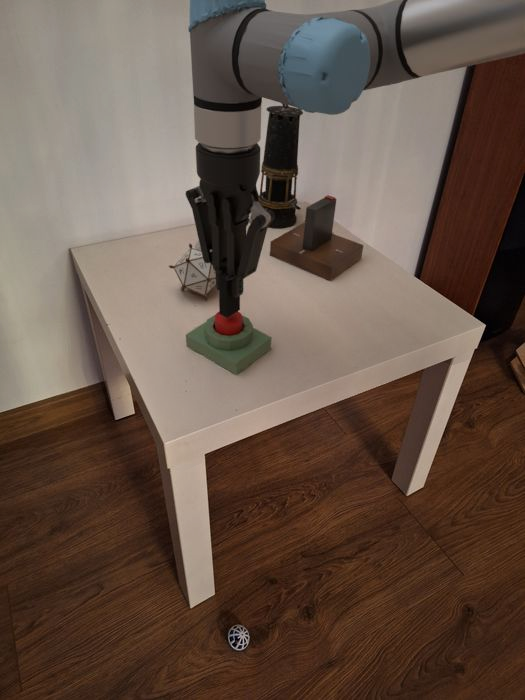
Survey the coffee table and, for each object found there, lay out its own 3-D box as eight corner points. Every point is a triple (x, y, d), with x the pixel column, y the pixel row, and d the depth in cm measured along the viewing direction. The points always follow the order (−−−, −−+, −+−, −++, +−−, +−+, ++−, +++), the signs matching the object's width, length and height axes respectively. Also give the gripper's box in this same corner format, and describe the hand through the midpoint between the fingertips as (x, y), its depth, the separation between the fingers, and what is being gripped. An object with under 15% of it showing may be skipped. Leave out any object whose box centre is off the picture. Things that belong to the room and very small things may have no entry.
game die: (197, 316, 92) (172, 293, 83) (178, 279, 96) (152, 254, 86) (240, 288, 92) (221, 263, 82) (220, 253, 95) (198, 224, 86)
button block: (271, 348, 80) (272, 327, 78) (236, 375, 75) (236, 353, 73) (222, 322, 85) (221, 301, 82) (186, 346, 80) (184, 324, 77)
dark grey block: (311, 251, 98) (315, 209, 93) (302, 247, 99) (306, 206, 94) (331, 238, 102) (336, 197, 97) (322, 235, 103) (327, 194, 98)
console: (361, 258, 103) (364, 244, 101) (330, 281, 96) (332, 266, 94) (302, 235, 109) (304, 221, 107) (269, 255, 102) (270, 240, 100)
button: (247, 327, 78) (248, 316, 77) (229, 340, 76) (229, 328, 74) (227, 316, 80) (227, 305, 79) (209, 328, 77) (209, 317, 76)
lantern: (301, 226, 113) (316, 70, 94) (259, 229, 111) (266, 71, 92) (290, 209, 119) (301, 59, 101) (250, 211, 118) (254, 60, 99)
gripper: (293, 147, 60) (281, 317, 75) (209, 124, 66) (214, 285, 81) (250, 164, 56) (247, 342, 70) (164, 137, 62) (178, 305, 76)
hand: (229, 311), depth 76 cm, fingers closed
